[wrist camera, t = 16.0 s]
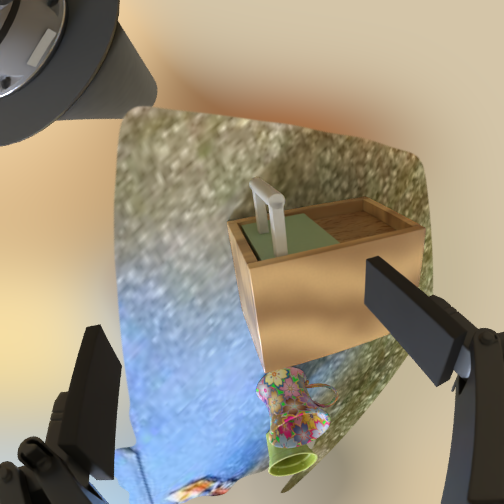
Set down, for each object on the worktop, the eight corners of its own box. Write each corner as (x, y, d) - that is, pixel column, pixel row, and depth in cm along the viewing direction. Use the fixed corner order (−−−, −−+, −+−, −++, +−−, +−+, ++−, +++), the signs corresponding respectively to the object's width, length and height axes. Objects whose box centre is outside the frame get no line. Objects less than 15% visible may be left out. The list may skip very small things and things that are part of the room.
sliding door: (233, 174, 33) (254, 196, 24) (299, 164, 34) (341, 182, 25) (242, 231, 35) (264, 271, 27) (304, 219, 36) (343, 253, 28)
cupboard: (226, 221, 36) (248, 268, 25) (365, 196, 38) (426, 227, 28) (241, 309, 41) (264, 374, 30) (363, 278, 44) (411, 325, 33)
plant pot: (307, 431, 58) (321, 463, 50) (266, 448, 57) (277, 480, 50) (296, 411, 53) (311, 447, 46) (250, 430, 53) (261, 466, 45)
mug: (271, 406, 51) (289, 453, 42) (241, 383, 47) (256, 437, 37) (328, 370, 50) (355, 415, 41) (304, 342, 46) (332, 392, 37)
